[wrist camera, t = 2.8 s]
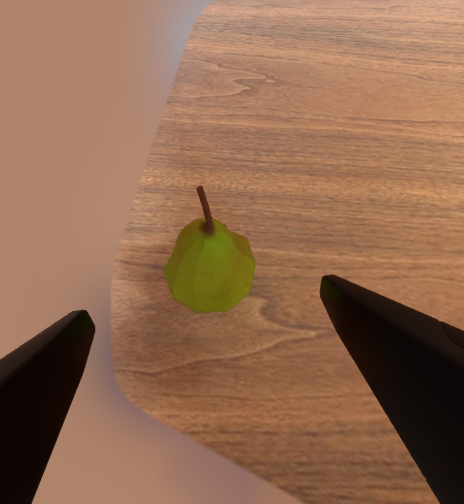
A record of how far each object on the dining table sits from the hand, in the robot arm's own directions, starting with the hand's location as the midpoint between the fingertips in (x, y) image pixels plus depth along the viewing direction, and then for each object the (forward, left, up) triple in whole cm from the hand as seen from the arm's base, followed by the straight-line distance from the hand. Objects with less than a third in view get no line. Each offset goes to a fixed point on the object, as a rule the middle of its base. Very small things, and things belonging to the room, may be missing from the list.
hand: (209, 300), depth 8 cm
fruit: (+3, +1, -10) cm, 10 cm away
